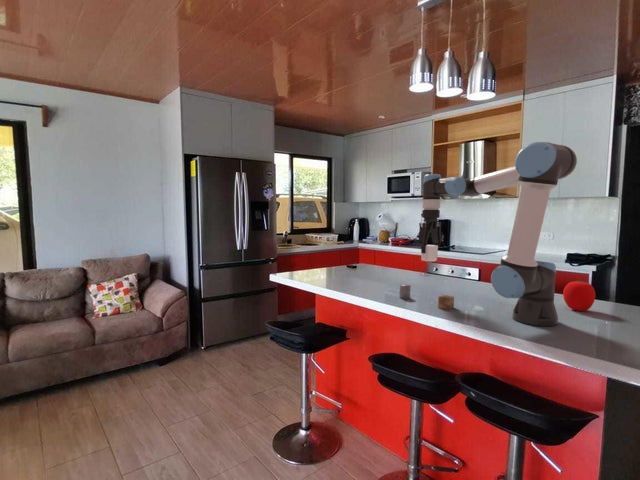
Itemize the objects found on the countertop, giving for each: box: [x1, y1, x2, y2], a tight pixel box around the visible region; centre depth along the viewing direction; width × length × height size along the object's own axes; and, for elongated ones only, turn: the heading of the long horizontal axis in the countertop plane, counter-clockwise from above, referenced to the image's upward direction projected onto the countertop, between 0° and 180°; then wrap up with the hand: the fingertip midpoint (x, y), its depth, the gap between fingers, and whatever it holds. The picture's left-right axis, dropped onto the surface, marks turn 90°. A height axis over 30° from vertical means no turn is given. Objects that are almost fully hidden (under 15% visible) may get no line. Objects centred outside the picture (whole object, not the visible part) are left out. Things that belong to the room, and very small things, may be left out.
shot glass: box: [426, 244, 439, 262], centre depth 169 cm, size 7×7×7 cm
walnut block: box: [437, 294, 455, 311], centre depth 159 cm, size 5×5×5 cm
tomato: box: [562, 280, 596, 312], centre depth 157 cm, size 11×11×13 cm
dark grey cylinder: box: [398, 283, 411, 300], centre depth 176 cm, size 5×5×6 cm
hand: (429, 259), depth 170 cm, fingers closed on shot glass, 7 cm apart
